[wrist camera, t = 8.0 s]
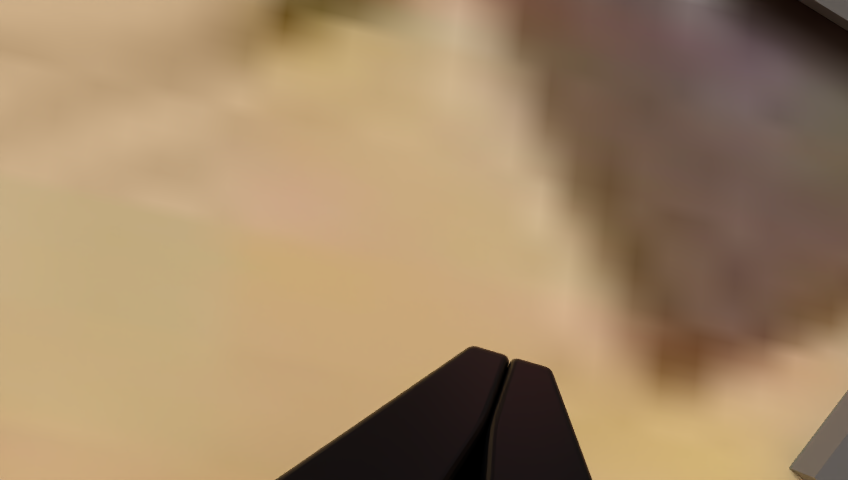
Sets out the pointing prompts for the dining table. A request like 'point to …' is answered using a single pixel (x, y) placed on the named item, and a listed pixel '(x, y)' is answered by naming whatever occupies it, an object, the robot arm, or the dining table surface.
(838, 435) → the tile
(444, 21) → the dining table surface
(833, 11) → the tile
